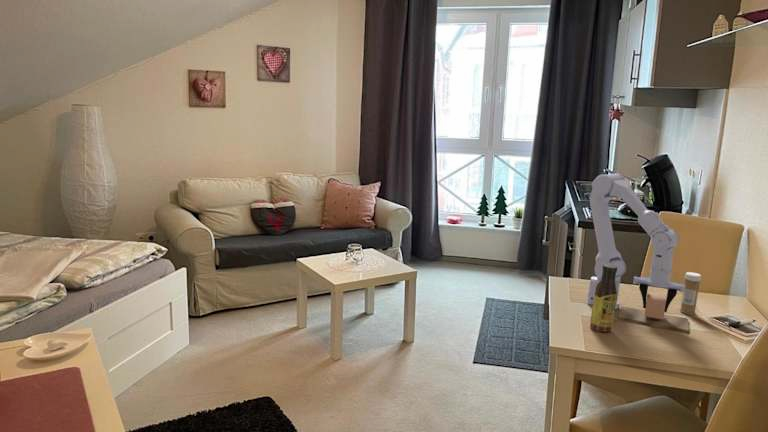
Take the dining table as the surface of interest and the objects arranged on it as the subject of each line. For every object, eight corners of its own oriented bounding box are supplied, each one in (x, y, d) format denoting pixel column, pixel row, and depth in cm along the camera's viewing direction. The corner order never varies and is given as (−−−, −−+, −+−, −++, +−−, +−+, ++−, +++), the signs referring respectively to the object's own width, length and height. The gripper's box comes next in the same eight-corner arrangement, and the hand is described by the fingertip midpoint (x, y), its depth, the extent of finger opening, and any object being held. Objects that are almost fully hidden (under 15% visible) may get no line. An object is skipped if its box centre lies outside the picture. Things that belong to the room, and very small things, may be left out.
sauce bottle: (601, 334, 174) (609, 270, 170) (585, 326, 180) (593, 263, 176) (616, 331, 177) (625, 267, 173) (600, 323, 183) (608, 261, 179)
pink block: (644, 315, 186) (646, 298, 185) (645, 310, 191) (647, 292, 189) (663, 319, 184) (665, 301, 182) (663, 313, 189) (666, 295, 187)
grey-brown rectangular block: (618, 319, 187) (620, 301, 186) (620, 308, 197) (623, 291, 196) (688, 332, 179) (691, 314, 178) (687, 320, 189) (690, 303, 187)
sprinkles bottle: (697, 313, 195) (704, 274, 193) (690, 316, 193) (696, 276, 190) (684, 309, 199) (690, 270, 196) (676, 311, 197) (683, 272, 194)
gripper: (635, 267, 184) (629, 308, 187) (687, 275, 178) (680, 317, 180) (636, 261, 190) (630, 301, 193) (686, 269, 184) (680, 310, 187)
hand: (654, 309), depth 187 cm, fingers closed on pink block, 5 cm apart
